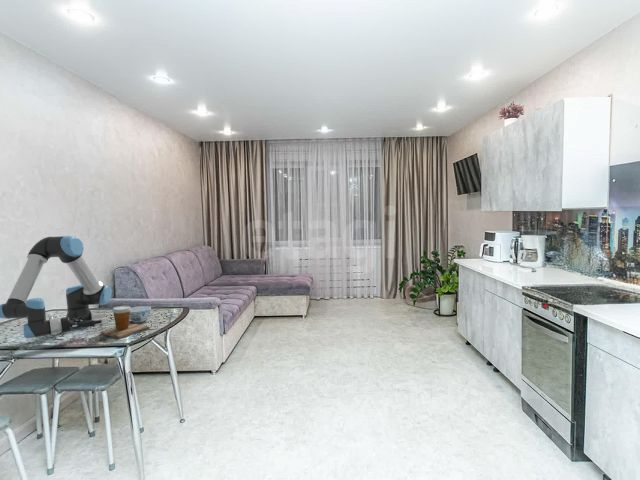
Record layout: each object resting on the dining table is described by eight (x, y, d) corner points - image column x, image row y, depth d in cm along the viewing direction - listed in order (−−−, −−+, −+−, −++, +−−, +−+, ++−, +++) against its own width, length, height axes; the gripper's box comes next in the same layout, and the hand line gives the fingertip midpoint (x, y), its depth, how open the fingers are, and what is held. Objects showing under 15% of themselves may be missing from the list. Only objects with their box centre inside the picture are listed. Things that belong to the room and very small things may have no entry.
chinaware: (141, 324, 233) (140, 312, 233) (120, 324, 236) (118, 312, 236) (156, 317, 248) (155, 306, 247) (136, 317, 251) (135, 306, 250)
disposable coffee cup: (116, 325, 226) (115, 305, 225) (133, 325, 227) (133, 305, 226) (110, 330, 216) (109, 310, 215) (128, 330, 218) (127, 309, 217)
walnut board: (101, 334, 218) (101, 331, 217) (131, 325, 233) (131, 323, 233) (119, 338, 208) (118, 335, 208) (149, 329, 223) (149, 326, 223)
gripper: (60, 327, 212) (104, 319, 225) (62, 338, 192) (110, 329, 205) (59, 313, 212) (103, 306, 224) (61, 323, 192) (109, 315, 204)
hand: (106, 317), depth 214 cm, fingers open, 13 cm apart
